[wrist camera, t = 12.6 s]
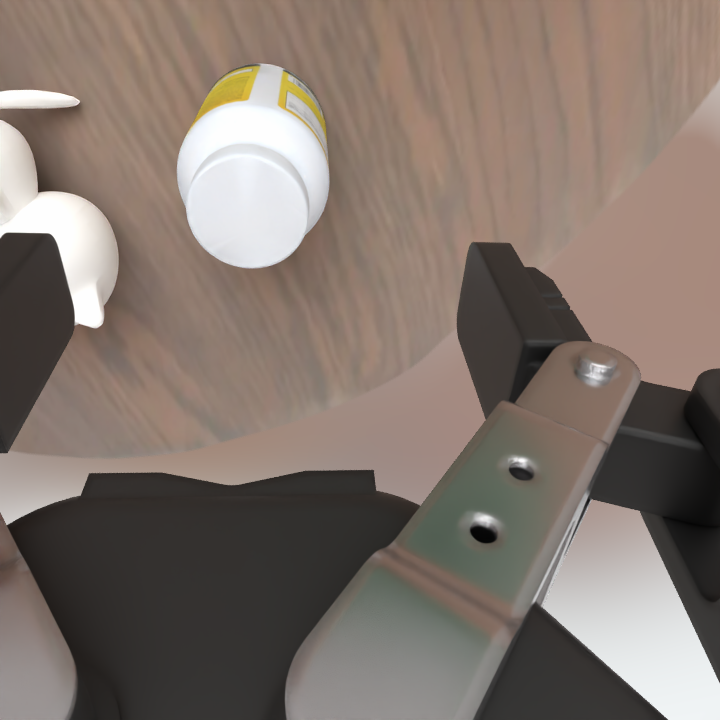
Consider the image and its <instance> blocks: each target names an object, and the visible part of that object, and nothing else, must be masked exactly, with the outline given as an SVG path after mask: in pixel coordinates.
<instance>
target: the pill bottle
mask: <svg viewBox="0 0 720 720" xmlns="http://www.w3.org/2000/svg"><path fill="white" fill-rule="evenodd" d="M177 181H178V187H179V191H180V194H181V197H182V200H183V202H184V204H185V207H186V212H187V219H188V223H189V225H190V228H191V230H192V233H193V234H194V236H195V238H196V239H197V241H198V242H199V243H200V245H201V246H202V247H203V248H204V249H205V250H206V251H207V252H208V253H210V254H211V255H213V256H214V257H216V258H217V259H219V260H220V261H222V262H225V263H227V264H229V265H232V266H236V267H241V268H263V267H268V266H271V265H274V264H277V263H279V262H281V261H282V260H284V259H286V258H287V257H288V256H290V255H291V254H292V253H293V252H294V251H295V250H296V249H297V247H298V246H299V245H300V243H301V242H302V240H303V238H304V236H305V235H306V234H307V233H308V232H309V231H310V230H311V229H312V228H313V227H314V225H315V224H316V223H317V221H318V220H319V218H320V216H321V215H322V213H323V210H324V208H325V205H326V202H327V198H328V192H329V163H328V149H327V137H326V124H325V118H324V114H323V111H322V108H321V106H320V103H319V102H318V100H317V98H316V96H315V95H314V93H313V92H312V90H311V89H310V88H309V87H308V86H307V84H306V83H305V82H304V81H302V80H301V79H300V78H299V77H298V76H296V75H295V74H293V73H292V72H290V71H288V70H286V69H284V68H281V67H278V66H275V65H270V64H261V63H259V64H248V65H244V66H241V67H238V68H235V69H233V70H232V71H230V72H228V73H227V74H225V75H224V76H223V77H221V78H220V79H219V80H218V81H217V82H216V83H215V85H214V86H213V87H212V89H211V90H210V92H209V94H208V95H207V97H206V99H205V101H204V103H203V105H202V107H201V108H200V110H199V112H198V114H197V116H196V118H195V120H194V122H193V124H192V126H191V127H190V129H189V131H188V133H187V135H186V137H185V139H184V141H183V144H182V146H181V149H180V152H179V156H178V162H177Z"/></svg>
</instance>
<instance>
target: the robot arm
mask: <svg viewBox="0 0 720 720" xmlns="http://www.w3.org/2000/svg"><path fill="white" fill-rule="evenodd" d="M74 325H75V311H74V305H73V301H72V297H71V293H70V289H69V286H68V282H67V278H66V274H65V270H64V267H63V263H62V259H61V255H60V251H59V248H58V245H57V242H56V240H55V238H54V237H53V236H52V235H51V234H49V233H16V232H7V233H5V234H3V235H2V236H1V237H0V453H8V451H9V449H10V448H11V446H12V444H13V442H14V440H15V438H16V437H17V435H18V433H19V431H20V429H21V428H22V426H23V424H24V422H25V420H26V418H27V417H28V415H29V413H30V411H31V409H32V408H33V406H34V404H35V402H36V400H37V399H38V397H39V395H40V393H41V391H42V389H43V388H44V386H45V384H46V382H47V380H48V379H49V377H50V375H51V373H52V371H53V370H54V368H55V366H56V364H57V362H58V360H59V359H60V357H61V355H62V353H63V351H64V350H65V348H66V346H67V344H68V342H69V340H70V339H71V337H72V334H73V331H74ZM457 333H458V339H459V342H460V345H461V348H462V351H463V354H464V356H465V359H466V363H467V365H468V368H469V371H470V374H471V377H472V380H473V383H474V386H475V388H476V392H477V395H478V398H479V401H480V404H481V407H482V410H483V412H484V416H485V418H486V421H485V422H484V423H483V425H482V426H481V427H480V429H479V430H478V431H477V432H476V434H475V435H474V436H473V438H472V439H471V440H470V442H469V443H468V444H467V446H466V447H465V448H464V450H463V451H462V452H461V453H460V455H459V456H458V457H457V459H456V460H455V461H454V463H453V464H452V465H451V467H450V468H449V469H448V471H447V472H446V473H445V475H444V476H443V477H442V479H441V480H440V481H439V482H438V484H437V485H436V487H435V488H434V489H433V490H432V492H431V493H430V494H429V496H428V497H427V498H426V500H425V501H424V502H423V503H422V505H421V506H420V505H418V504H415V503H413V502H411V501H408V500H406V499H404V498H401V497H398V496H395V495H391V494H388V493H384V492H380V491H376V486H375V477H374V470H344V471H343V470H338V471H303V472H298V473H293V474H288V475H284V476H279V477H274V478H269V479H265V480H260V481H255V482H251V483H245V484H241V485H223V484H217V483H213V482H208V481H202V480H197V479H192V478H187V477H182V476H176V475H171V474H166V473H91V474H89V476H88V478H87V481H86V483H85V486H84V489H83V491H82V494H81V496H77V497H72V498H69V499H66V500H62V501H59V502H55V503H53V504H50V505H47V506H45V507H42V508H40V509H37V510H35V511H33V512H31V513H29V514H27V515H25V516H23V517H21V518H19V519H17V520H15V521H13V522H12V523H10V524H8V525H6V523H5V521H4V519H3V517H2V515H1V513H0V720H668V719H667V718H666V717H664V716H663V715H662V714H661V713H660V712H659V711H658V710H657V709H656V708H654V707H653V706H652V705H651V704H650V703H649V702H648V701H647V700H645V699H644V698H643V697H642V696H641V695H640V694H639V693H638V692H636V691H635V690H634V689H633V688H632V687H631V686H630V685H629V684H628V683H626V682H625V681H624V680H623V679H622V678H621V677H620V676H618V675H617V674H616V673H615V672H614V671H613V670H612V669H611V668H610V667H608V666H607V665H606V664H605V663H604V662H603V661H602V660H601V659H599V658H598V657H597V656H596V655H595V654H594V653H593V652H592V651H591V650H589V649H588V648H587V647H586V646H585V645H584V644H583V643H581V642H580V641H579V640H578V639H577V638H576V637H575V636H573V635H572V634H571V633H570V632H569V631H568V630H567V629H566V628H565V627H564V626H562V625H561V624H560V623H559V622H558V621H557V620H556V619H555V618H554V617H552V616H551V615H550V614H549V613H548V612H547V611H546V610H545V609H543V606H544V603H545V601H546V599H547V596H548V594H549V592H550V589H551V587H552V585H553V582H554V580H555V578H556V576H557V574H558V571H559V569H560V567H561V565H562V563H563V561H564V558H565V556H566V554H567V552H568V549H569V548H570V545H571V543H572V541H573V539H574V537H575V535H576V533H577V530H578V528H579V526H580V524H581V522H582V520H583V518H584V515H585V513H586V511H587V509H588V507H589V505H590V502H591V500H592V499H593V500H597V501H601V502H606V503H609V504H614V505H618V506H622V507H626V508H630V509H634V510H639V511H640V513H641V515H642V517H643V520H644V522H645V524H646V526H647V528H648V530H649V532H650V534H651V537H652V539H653V541H654V543H655V545H656V547H657V550H658V552H659V554H660V556H661V558H662V560H663V562H664V564H665V567H666V569H667V571H668V573H669V575H670V577H671V580H672V581H673V584H674V586H675V588H676V590H677V592H678V595H679V597H680V599H681V601H682V603H683V605H684V607H685V610H686V611H687V614H688V616H689V618H690V620H691V622H692V625H693V627H694V629H695V631H696V633H697V635H698V637H699V640H700V642H701V644H702V646H703V648H704V650H705V652H706V654H707V657H708V659H709V661H710V663H711V665H712V667H713V669H714V672H715V674H716V676H717V678H718V680H719V682H720V369H711V370H707V371H705V372H703V373H701V374H700V375H699V376H698V378H697V380H696V382H695V384H694V386H693V388H692V390H691V391H686V390H681V389H676V388H671V387H667V386H662V385H657V384H652V383H648V382H644V381H641V373H640V370H639V368H638V367H637V365H636V364H635V363H634V362H633V361H632V360H631V359H630V358H629V357H627V356H626V355H624V354H623V353H621V352H620V351H617V350H616V349H613V348H611V347H608V346H606V345H602V344H599V343H594V342H592V341H591V339H590V337H589V336H588V334H587V333H586V331H585V330H584V328H583V326H582V325H581V324H580V322H579V320H578V319H577V317H576V316H575V314H574V312H573V311H572V310H570V306H569V305H568V303H567V302H566V300H565V299H564V298H562V294H561V292H560V291H559V289H558V288H557V286H556V284H555V283H554V281H553V280H552V279H550V278H549V277H547V276H546V275H545V274H543V273H542V272H540V271H539V270H538V269H536V268H535V267H524V265H523V264H522V262H521V260H520V259H519V257H518V255H517V253H516V252H515V250H514V248H513V247H512V245H511V244H510V243H488V242H473V243H471V245H470V247H469V250H468V254H467V259H466V265H465V271H464V277H463V282H462V288H461V294H460V300H459V306H458V312H457Z"/></svg>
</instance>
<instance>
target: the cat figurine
mask: <svg viewBox="0 0 720 720" xmlns="http://www.w3.org/2000/svg"><path fill="white" fill-rule="evenodd" d="M79 103H80V101H79V100H78V99H76V98H75V97H72V96H69V95H65V94H61V93H56V92H48V91H40V90H8V91H2V92H0V109H32V108H66V107H72V106H77V105H78V104H79ZM7 232H16V233H49V234H51V235H52V236H53V237H54V238H55V240H56V242H57V245H58V248H59V251H60V255H61V259H62V263H63V267H64V270H65V274H66V278H67V282H68V286H69V289H70V293H71V297H72V301H73V305H74V311H75V325H78V324H82V325H85V326H88V327H92V328H98V327H99V326H101V325H102V324H103V322H104V305H105V303H106V302H107V301H108V299H109V297H110V296H111V294H112V292H113V289H114V287H115V284H116V280H117V275H118V266H119V255H118V247H117V242H116V238H115V235H114V232H113V230H112V227H111V225H110V223H109V221H108V220H107V218H106V217H105V216H104V214H103V213H102V212H101V211H100V210H99V209H98V208H97V207H96V206H95V205H93V204H92V203H91V202H89V201H88V200H86V199H84V198H82V197H80V196H77V195H74V194H70V193H65V192H56V191H47V192H38V182H37V172H36V165H35V161H34V157H33V153H32V151H31V149H30V146H29V144H28V143H27V141H26V139H25V138H24V136H23V135H22V134H21V133H20V132H19V131H18V130H17V129H15V128H14V127H13V126H11V125H10V124H8V123H6V122H4V121H2V120H0V237H1V236H2V235H3V234H5V233H7ZM75 325H74V326H75Z"/></svg>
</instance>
